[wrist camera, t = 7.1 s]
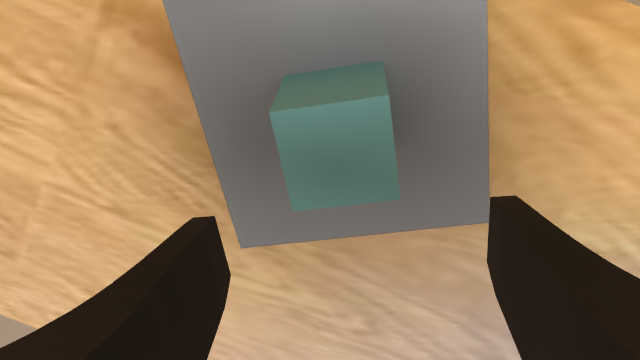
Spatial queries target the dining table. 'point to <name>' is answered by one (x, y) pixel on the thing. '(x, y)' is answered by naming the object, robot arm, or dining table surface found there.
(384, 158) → the teal cube
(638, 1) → the cream cube
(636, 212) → the dining table surface
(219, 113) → the plate
